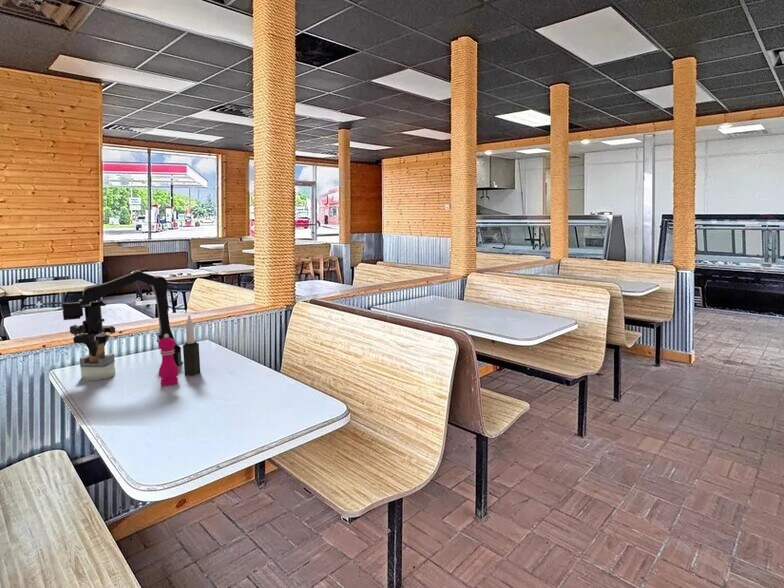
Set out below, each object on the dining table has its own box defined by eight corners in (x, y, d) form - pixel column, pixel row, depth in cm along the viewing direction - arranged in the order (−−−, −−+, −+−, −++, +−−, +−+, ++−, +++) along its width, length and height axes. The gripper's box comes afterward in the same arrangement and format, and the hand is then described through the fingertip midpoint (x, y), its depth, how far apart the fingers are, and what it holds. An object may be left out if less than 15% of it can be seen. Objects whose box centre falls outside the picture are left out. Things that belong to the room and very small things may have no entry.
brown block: (105, 359, 207) (103, 343, 206) (99, 362, 203) (97, 345, 202) (95, 359, 208) (94, 342, 206) (89, 362, 204) (88, 345, 202)
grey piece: (121, 371, 212) (120, 360, 211) (104, 381, 200) (103, 369, 200) (93, 371, 213) (92, 359, 212) (74, 380, 201) (73, 368, 200)
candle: (194, 376, 207) (191, 316, 203) (183, 375, 208) (179, 316, 204) (201, 372, 212) (198, 314, 208) (190, 371, 213) (187, 313, 209)
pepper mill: (174, 386, 195) (171, 336, 192) (156, 386, 195) (152, 335, 192) (182, 380, 202) (179, 331, 199) (164, 380, 202) (161, 331, 199)
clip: (114, 361, 209) (114, 353, 209) (103, 367, 202) (102, 358, 201) (92, 361, 210) (91, 353, 209) (80, 366, 202) (79, 358, 202)
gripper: (88, 312, 212) (92, 348, 215) (58, 322, 194) (62, 361, 196) (114, 313, 212) (117, 348, 214) (86, 322, 193) (89, 361, 196)
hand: (97, 354), depth 205 cm, fingers closed on brown block, 4 cm apart
